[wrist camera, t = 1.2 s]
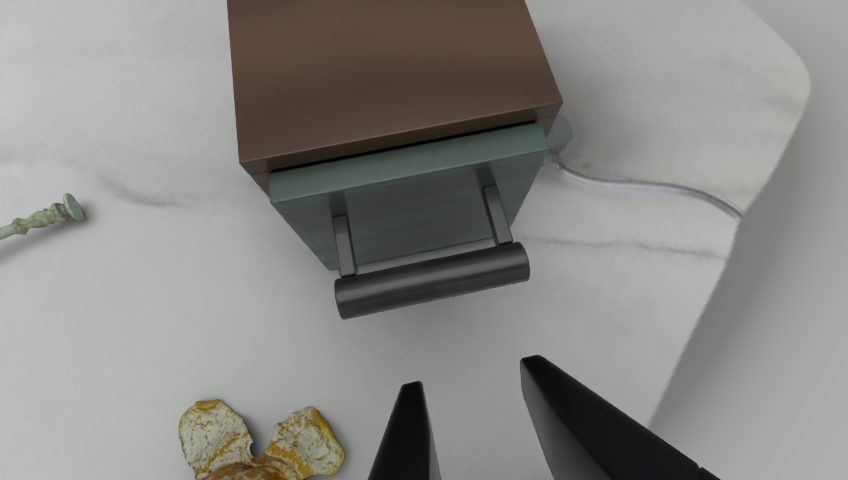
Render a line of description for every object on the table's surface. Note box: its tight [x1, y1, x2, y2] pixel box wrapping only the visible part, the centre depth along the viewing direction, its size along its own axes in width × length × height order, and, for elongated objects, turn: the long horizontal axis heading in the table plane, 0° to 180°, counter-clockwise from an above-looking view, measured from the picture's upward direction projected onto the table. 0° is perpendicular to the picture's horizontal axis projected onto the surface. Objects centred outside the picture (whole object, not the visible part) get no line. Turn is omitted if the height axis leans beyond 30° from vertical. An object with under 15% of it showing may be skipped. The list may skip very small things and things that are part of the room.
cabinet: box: [227, 0, 563, 198], centre depth 21 cm, size 14×11×11 cm
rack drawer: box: [268, 122, 549, 320], centre depth 20 cm, size 16×10×9 cm, turn 12°
